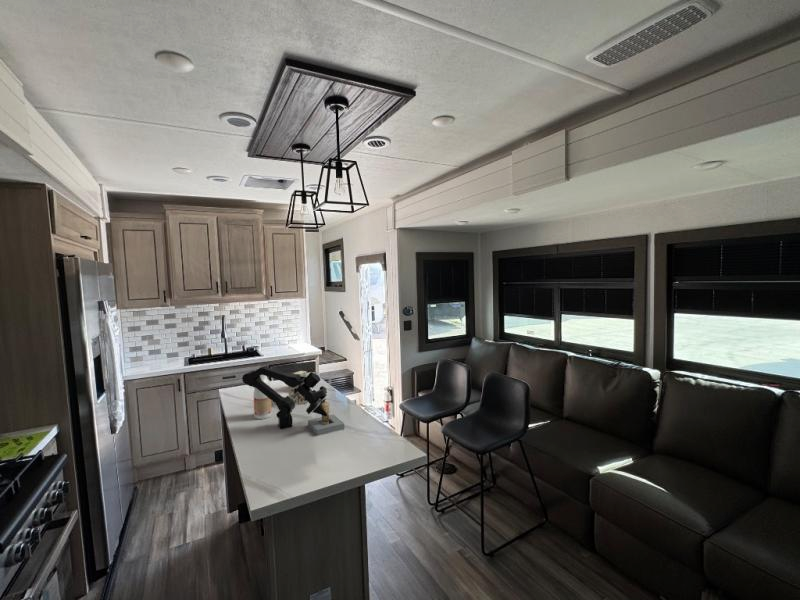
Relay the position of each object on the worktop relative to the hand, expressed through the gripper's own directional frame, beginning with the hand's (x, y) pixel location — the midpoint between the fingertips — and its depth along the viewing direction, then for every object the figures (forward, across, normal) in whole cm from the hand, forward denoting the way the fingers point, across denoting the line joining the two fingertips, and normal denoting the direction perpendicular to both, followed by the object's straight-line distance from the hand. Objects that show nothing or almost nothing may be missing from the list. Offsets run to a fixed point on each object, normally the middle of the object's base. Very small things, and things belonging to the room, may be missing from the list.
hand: (328, 414), depth 200 cm
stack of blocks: (-22, +66, +33) cm, 77 cm away
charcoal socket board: (+4, 0, +6) cm, 7 cm away
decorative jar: (-16, +38, +27) cm, 49 cm away
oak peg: (+4, 0, +6) cm, 7 cm away
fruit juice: (-25, +12, +36) cm, 45 cm away
